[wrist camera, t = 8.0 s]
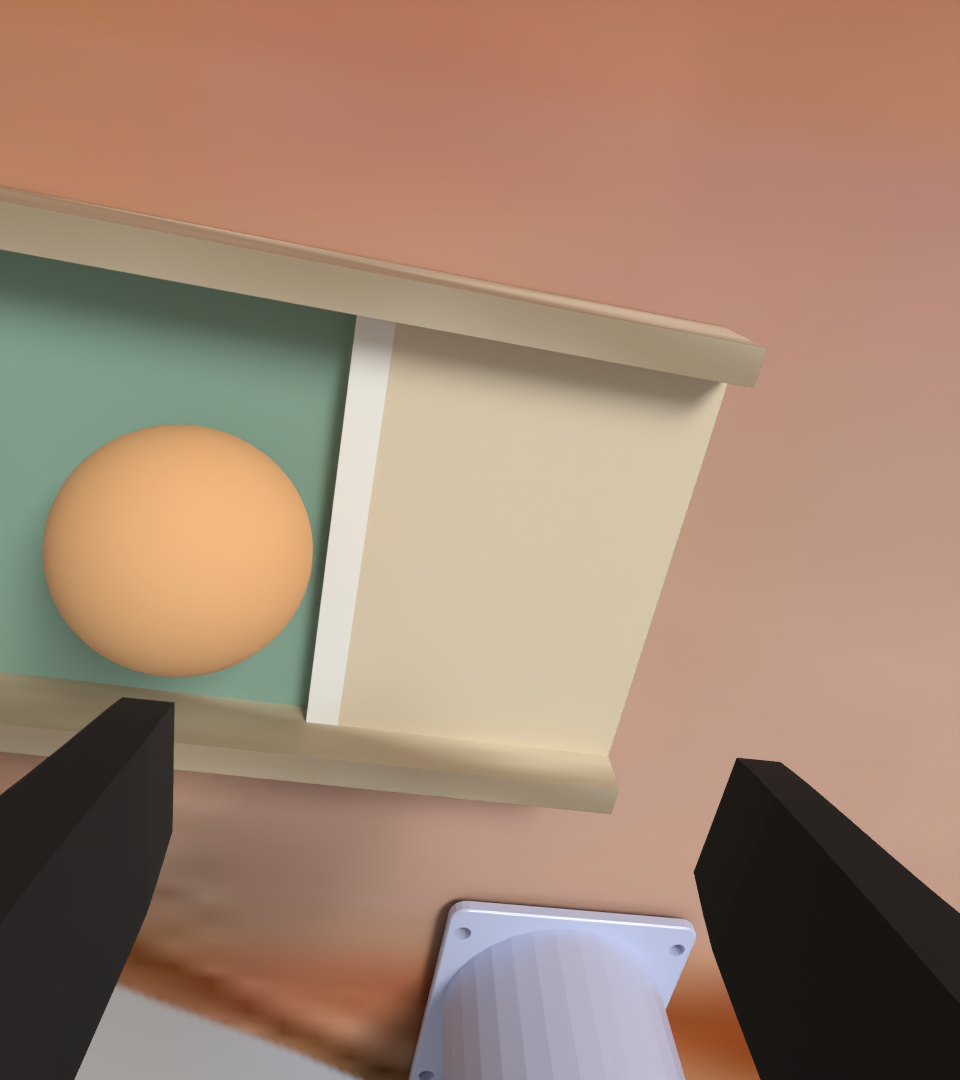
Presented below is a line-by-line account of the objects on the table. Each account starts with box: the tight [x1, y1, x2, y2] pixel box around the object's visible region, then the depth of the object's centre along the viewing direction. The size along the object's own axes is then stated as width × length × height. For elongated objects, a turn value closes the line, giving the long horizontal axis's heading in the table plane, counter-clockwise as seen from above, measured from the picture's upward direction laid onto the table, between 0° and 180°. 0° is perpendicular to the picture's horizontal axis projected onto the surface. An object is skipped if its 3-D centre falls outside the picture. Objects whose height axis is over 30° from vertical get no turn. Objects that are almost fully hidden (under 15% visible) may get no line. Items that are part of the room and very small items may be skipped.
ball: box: [42, 424, 313, 677], centre depth 16 cm, size 5×5×5 cm
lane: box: [0, 249, 727, 756], centre depth 18 cm, size 12×17×1 cm
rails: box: [0, 186, 767, 814], centre depth 18 cm, size 12×17×2 cm
